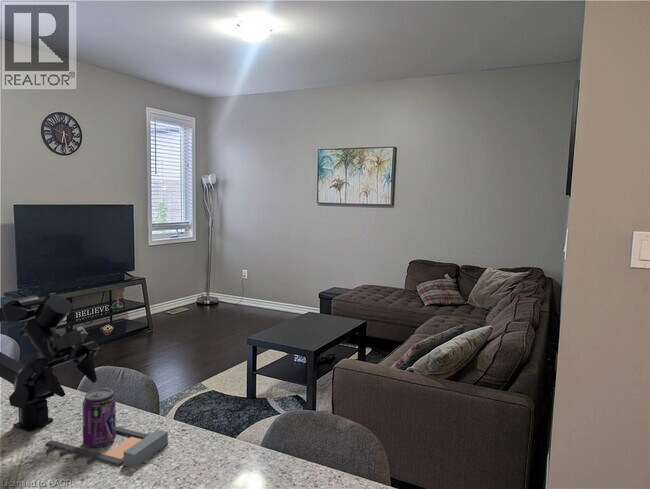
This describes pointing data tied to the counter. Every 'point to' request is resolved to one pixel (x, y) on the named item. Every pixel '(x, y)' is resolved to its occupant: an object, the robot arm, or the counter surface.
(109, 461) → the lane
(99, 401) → the beverage can
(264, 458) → the counter surface
